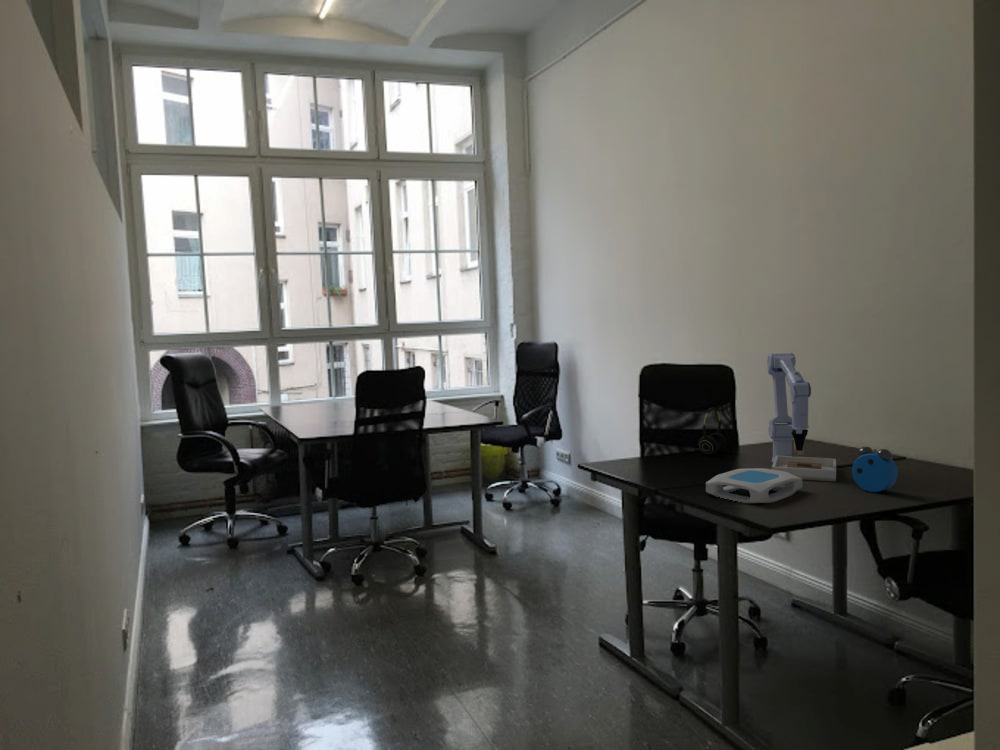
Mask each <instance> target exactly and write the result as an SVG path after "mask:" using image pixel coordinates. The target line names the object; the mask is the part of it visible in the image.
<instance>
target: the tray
mask: <svg viewBox="0 0 1000 750" xmlns="http://www.w3.org/2000/svg"><path fill="white" fill-rule="evenodd" d="M788 461H791V462H810V463H822V469H808V468H791V467H787V465H788ZM771 470H778V471H784V472H788V473H790V474H792V475H795V476H797V477H800V478H802V481H803V480H805V481H807V480H808V481H818V482H819V481H820V482H821V481H822V482H837V458H831V457H830V458H829V457H812V456H811V457H809V456H775V459H774V462H772V464H771Z"/></svg>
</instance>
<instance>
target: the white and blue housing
mask: <svg viewBox="0 0 1000 750" xmlns="http://www.w3.org/2000/svg"><path fill="white" fill-rule="evenodd" d="M802 488H803V479H802V478H800V477H797V476H795V475H792V474H790V473H788V472H784V471H778V470H772V468H761V467H760V468H759V467H757V468H756V467H755V468H737V469H733V470H730V471H726V472H723V473H719V474H717V475H715V476H713V477H711V479H709V480H707V481H706V482H705V493H708V494H710V495H712V496H714V497H716V498H718V497H720V498H719V499H721V498H724V499H729V500H733V501H732V502H734V501H738V502H737V503H740V502H742V503H741V504H771V503H775V502H778V501H780V500H783V499H785V498H788V497H790V496H793V495H795V494H796V493H797V492H798V491H799V490H801V489H802ZM736 490H737V491H739V490H747V491H748V492H749V496H750V497H749V496H747V495H740V494H736V493H733V491H734V492H737V491H736ZM771 490H772V491H775V492H773V493H770V494H769V491H771ZM729 492H731V493H729ZM724 499H723V500H724ZM729 500H728V501H729Z"/></svg>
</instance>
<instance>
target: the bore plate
mask: <svg viewBox="0 0 1000 750" xmlns="http://www.w3.org/2000/svg"><path fill="white" fill-rule="evenodd" d="M787 467H791V468H808V469H822V463H810V462H791V461H788V465H787Z"/></svg>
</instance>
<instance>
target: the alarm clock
mask: <svg viewBox="0 0 1000 750" xmlns="http://www.w3.org/2000/svg"><path fill="white" fill-rule="evenodd" d="M872 451H873V452H872ZM857 455H858V456H859V457H857V458H856V459H855V461H854V462H853V464H852V468H851V469H852V476H853V480H854V482H855V483H856V484H857V485H858V486H859V487H860V488H861V489H862V490H864V491H866V492H870V493H879V492H882V491H886V492H889V491H888V489H889V488H892V487H893V486H894V484H895V483H896V481H897V479H898V475H899V474H898V473H899V472H898V467H897V464H896V462H895V461H894V460H893V454H892V452H891V451H890V450H889V449H887V448H886V449H885V448H880V449H879V450H878V449H876V448H875V449H874V448H873V449H872V448H871V447H869V446H861V447H860V448H859V449H858V450H857Z"/></svg>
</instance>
